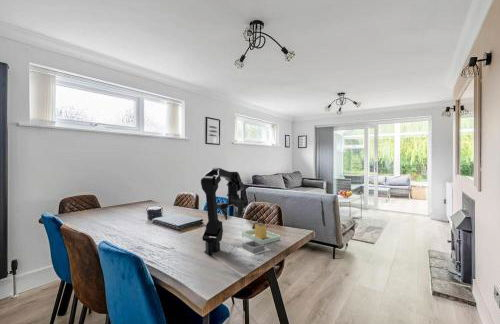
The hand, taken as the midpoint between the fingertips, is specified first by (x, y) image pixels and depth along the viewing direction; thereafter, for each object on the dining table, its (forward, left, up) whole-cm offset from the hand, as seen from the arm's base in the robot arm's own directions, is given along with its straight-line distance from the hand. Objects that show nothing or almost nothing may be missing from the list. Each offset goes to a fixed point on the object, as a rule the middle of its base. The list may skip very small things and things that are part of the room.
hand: (233, 218), depth 150 cm
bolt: (+25, +9, -12) cm, 30 cm away
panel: (-2, -23, -12) cm, 26 cm away
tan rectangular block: (+13, -10, -11) cm, 20 cm away
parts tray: (+13, -10, -12) cm, 20 cm away
